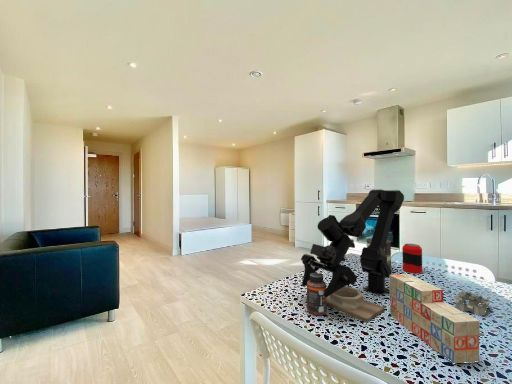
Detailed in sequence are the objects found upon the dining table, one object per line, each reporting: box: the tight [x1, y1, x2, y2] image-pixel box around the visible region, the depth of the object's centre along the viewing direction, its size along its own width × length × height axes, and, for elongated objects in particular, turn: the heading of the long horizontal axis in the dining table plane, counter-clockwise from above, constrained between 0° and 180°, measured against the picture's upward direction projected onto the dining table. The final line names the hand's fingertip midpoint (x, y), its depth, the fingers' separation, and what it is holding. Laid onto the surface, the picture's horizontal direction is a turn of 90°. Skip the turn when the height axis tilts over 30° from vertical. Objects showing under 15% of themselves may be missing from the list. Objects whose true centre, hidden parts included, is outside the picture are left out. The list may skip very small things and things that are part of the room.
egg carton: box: [453, 289, 491, 316], centre depth 76 cm, size 11×8×4 cm
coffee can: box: [365, 238, 392, 269], centre depth 112 cm, size 10×10×14 cm
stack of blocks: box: [389, 273, 481, 363], centre depth 62 cm, size 21×6×12 cm, turn 5°
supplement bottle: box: [306, 272, 328, 316], centre depth 75 cm, size 6×6×11 cm
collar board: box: [326, 285, 386, 323], centre depth 79 cm, size 11×20×4 cm, turn 38°
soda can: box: [401, 243, 423, 274], centre depth 111 cm, size 8×8×12 cm
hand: (313, 290), depth 74 cm, fingers open, 9 cm apart
